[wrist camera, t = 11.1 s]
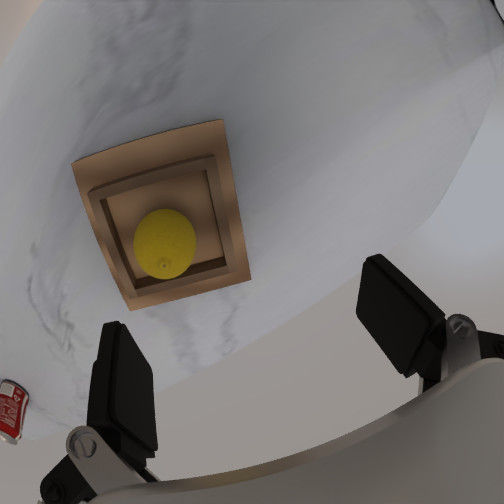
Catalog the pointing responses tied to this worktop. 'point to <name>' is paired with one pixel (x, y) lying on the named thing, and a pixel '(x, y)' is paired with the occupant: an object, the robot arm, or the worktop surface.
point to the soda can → (12, 411)
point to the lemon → (164, 243)
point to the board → (166, 197)
